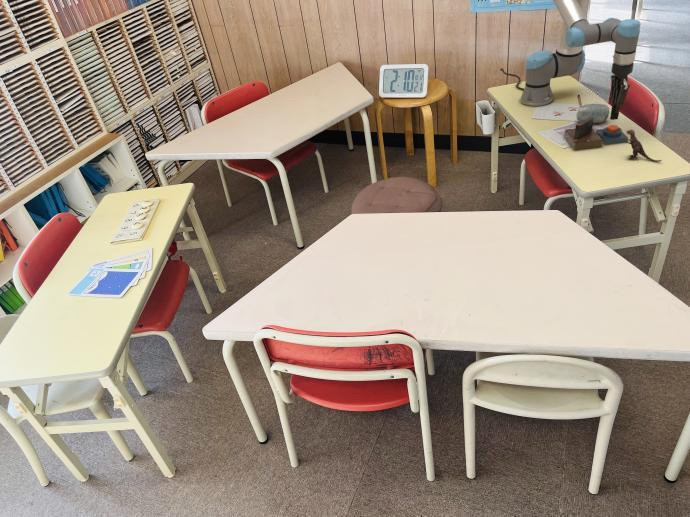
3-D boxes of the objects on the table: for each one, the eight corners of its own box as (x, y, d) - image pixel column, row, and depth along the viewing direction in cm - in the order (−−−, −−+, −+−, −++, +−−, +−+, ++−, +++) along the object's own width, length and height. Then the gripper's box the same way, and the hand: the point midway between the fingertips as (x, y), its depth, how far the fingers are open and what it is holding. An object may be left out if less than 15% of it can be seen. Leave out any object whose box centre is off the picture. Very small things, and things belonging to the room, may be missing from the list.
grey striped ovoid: (610, 109, 243) (607, 95, 235) (611, 125, 239) (608, 112, 231) (577, 115, 250) (574, 102, 242) (578, 132, 246) (575, 119, 238)
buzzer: (595, 134, 233) (596, 125, 230) (617, 131, 232) (618, 123, 229) (605, 145, 224) (606, 136, 222) (627, 142, 223) (628, 133, 221)
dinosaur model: (628, 127, 209) (670, 134, 201) (622, 153, 216) (662, 161, 209) (625, 132, 206) (667, 139, 199) (619, 158, 214) (659, 166, 206)
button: (605, 129, 228) (606, 125, 227) (615, 128, 227) (616, 124, 226) (609, 133, 224) (609, 129, 223) (619, 131, 224) (619, 128, 223)
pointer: (587, 129, 230) (589, 116, 226) (592, 130, 229) (594, 117, 225) (574, 138, 226) (575, 124, 222) (578, 139, 224) (580, 125, 221)
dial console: (560, 137, 236) (561, 129, 234) (593, 133, 234) (594, 125, 232) (570, 151, 224) (571, 143, 222) (605, 147, 223) (606, 139, 221)
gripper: (607, 58, 214) (599, 113, 228) (619, 69, 204) (610, 126, 218) (626, 55, 213) (617, 111, 228) (640, 66, 203) (629, 124, 217)
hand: (613, 118), depth 223 cm, fingers closed
